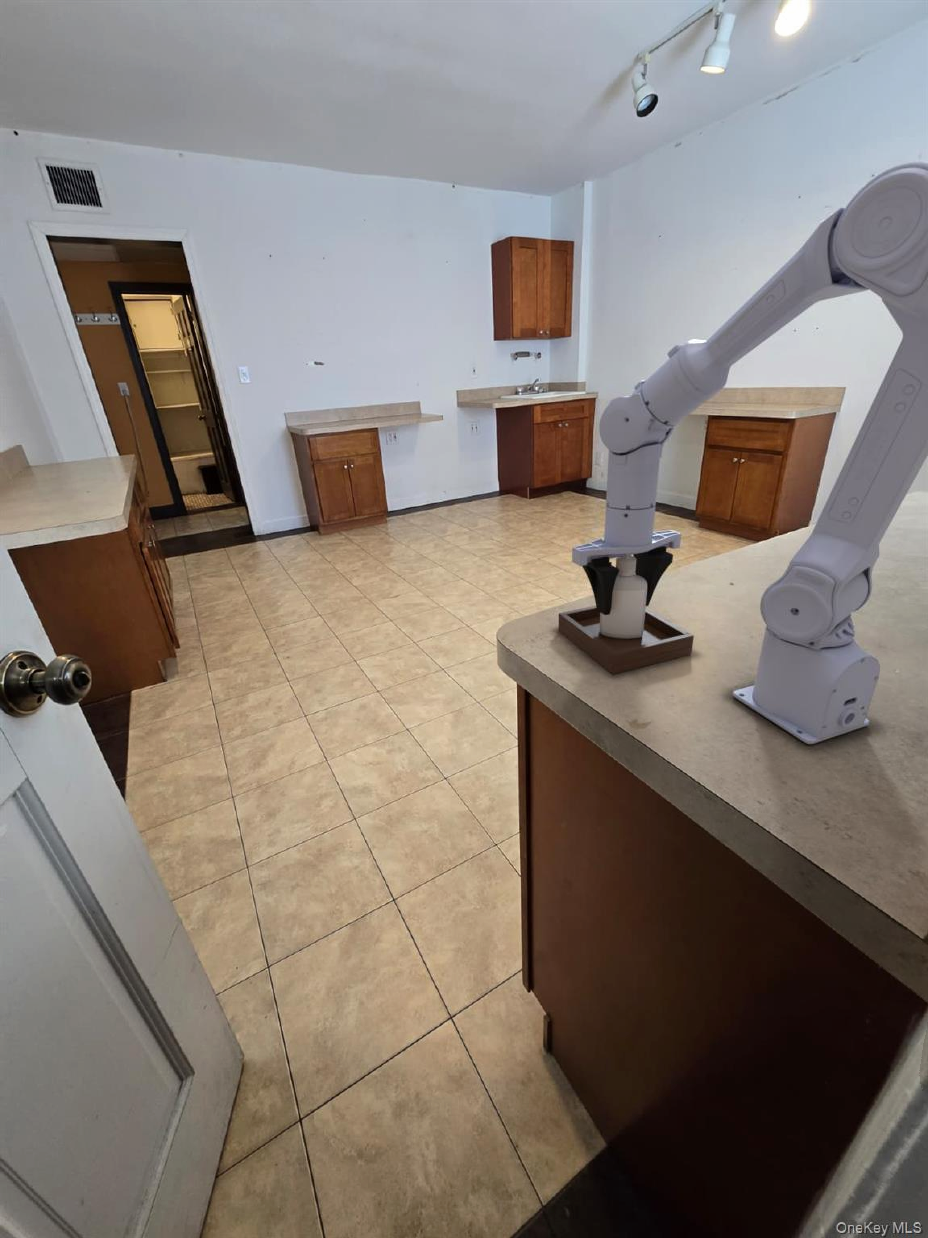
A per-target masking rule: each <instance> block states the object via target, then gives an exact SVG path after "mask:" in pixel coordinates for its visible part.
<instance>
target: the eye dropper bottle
mask: <svg viewBox="0 0 928 1238" xmlns="http://www.w3.org/2000/svg"><path fill="white" fill-rule="evenodd" d="M615 567H616V568H618V569H619V572H618V575H617V577H616V580H615V584H614V588H613V594H612V607H611V612H610V614H609V615H604V614H602V613H601V612H600V633H601V634H602V635H604V636H607V637H612V638H619V639H634V638H640V637H641V636H642V635H643V631H644V620H645V609H647V606H646V597H647V581H646V580H645V579H644V578H643V577H641V576H638V575H635V570H636V558H635V557H633V555H631V554H626V556H622V557H616V558H615Z"/></svg>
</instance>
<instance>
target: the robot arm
mask: <svg viewBox="0 0 928 1238" xmlns="http://www.w3.org/2000/svg"><path fill="white" fill-rule="evenodd" d="M867 291H871V292H872V293H874V294H875V295H877V296H878V297H879V298H881V301H882V303H883V304H884V306H885V307H886V309H887V310H888V312H889V314H890V315H891V317H892V319H893V320H894V321H895V323H896V325H897V326H898V328H899V329H900V331H901V333H902V339H901V341H900V344H899V345H898V347H897V349H896V352H895V353H894V356H893V358H892V360H891V363H890V365H889V367H888V368H887V370H886V373H885V375H884V377H883V379H882V382H881V383H880V386H879V387H878V390H877V392H876V395H875V397H874V399H873V401H872V403H871V405H870V407H869V409H868V411H867V413H866V416H865V418H864V421H863V422H862V424H861V427H860V429H859V431H858V433H857V436H856V438H855V439H854V442H853V444H852V446H851V448H850V451H849V453H848V454H847V457H846V459H845V460H844V463H843V465H842V468H841V470H840V472H839V474H838V476H837V478H836V480H835V482H834V485H833V487H832V489H831V491H830V493H829V495H828V498H827V500H826V501H825V504H824V506H823V508H822V510H821V512H820V515H819V516H818V519H817V521H816V523H815V525H814V528H813V529H812V532H811V533H810V535H809V536H808V538H807V539H806V540H805V542H804V543H803V544H802V545H801V546H800V548H799V549H798V550H797V551H796V553H795V554H794V555H793V557H792V558H791V560H790V561H789V563H788V565H787V568H786V570H785V571H784V573H783V574H782V575H781V576H780V577H779V578H778V579H777V580H775V581H774V582H773V583H771V584H769V586H768V587H767V588H766V589H765V590H764V592H763V593H762V596H761V598H760V603H759V610H760V615H761V617H762V620H763V623H764V624H765V628H764V629H765V631H764V635H763V639H762V644H761V650H760V654H759V658H758V664H757V669H756V674H755V679H754V684H753V685H750V686H746V687H743V688H739V689H736V690H734V691H732V697H734V698H735V699H737V701H740V702H741V703H743V704H744V705H746V706H747V707H749V708H751V709H752V710H753V711H755V712H757V713H758V714H760V715H761V716H763V717H765V718H766V719H768V720H769V721H771V722H773V723H774V724H776V725H777V726H779V727H780V728H781V729H783V730H785V731H786V732H788V733H789V734H791V735H792V736H794V737H796V738H797V739H799V740H800V741H802V742H803V743H804V744H808V745H814V744H817V743H820V742H823V741H826V740H829V739H831V738H835V737H837V736H840V735H843V734H847V733H850V732H852V731H855V730H858V729H861V728H864V727H867V726H869V724H870V720H869V719H868V718H867V715H868V712H869V708H870V706H871V702H872V699H873V696H874V694H875V693H874V692H875V690H876V687H877V684H878V681H879V677H880V672H881V666H880V662H879V660H878V659H877V658H876V657H875V656H873V655H871V654H869V652H867V651H865V650H864V649H863V648H862V647H861V646H860V645H859V644H858V643H857V642H856V640H855V634H856V631H855V627H854V623H853V622H854V621H853V619H852V614H853V613H854V612H857V611H859V610H860V609H861V608H862V607H864V606H865V605H866V603H867V602H869V599H870V597H871V595H872V592H873V578H872V574H873V569H874V566H875V564H876V562H877V561H878V559H879V557H880V543H881V541H882V539H883V538H884V535H885V534H886V533H887V531H888V529H889V527H890V525H891V523H892V521H893V519H894V517H895V516H896V515H897V513H898V511H899V509H900V508H901V505H902V503H903V501H904V499H905V498H906V496H907V494H908V492H909V491H910V489H911V487H912V485H913V484H914V481H915V479H916V478H917V476H918V474H919V472H920V471H921V468H922V467H923V465H924V463H925V461H926V460H927V458H928V162H923V161H912V162H905V163H902V164H898V165H895V166H893V167H891V168H888V169H886V170H884V171H882V172H881V173H878V175H876V176H874V177H873V178H871V179H870V180H869V181H868V182H867V183H866V184H864V185H863V186H862V187H861V188H860V189H859V190H858V191H857V192H856V193H855V194H854V195H853V196H852V197H851V200H849V202H848V203H847V205H846V206H845V208H844V207H842V206H841V207H839V208H838V209H837V210H835V211H834V212H833V213H831V214H830V215H829V216H827V217H826V218H825V219H823V220H822V221H821V222H820V223H819V225H818V226H817V227H816V228H815V230H813V232H812V234H811V235H810V236H809V237H808V238H807V240H806V241H805V243H804V244H803V245H802V246H801V247H800V248H799V249H798V251H796V252H795V254H793V255H792V257H790V258H789V260H787V261H786V262H785V263H784V264H783V265H782V266H781V267H780V268H779V269H778V270H777V271H776V272H775V273H774V274H773V275H772V276H771V277H770V278H769V279H768V280H767V281H766V282H765V283H764V284H763V285H762V286H761V287H760V288H759V289H758V290H757V291H756V292H755V293H754V294H752V296H751V297H750V298H749V299H748V300H746V301H745V303H743V304H742V306H741V307H740V308H738V309H737V310H736V311H735V312H734V314H733V315H731V316H730V317H729V318H728V320H727V321H725V322H724V323H723V324H722V325H721V326H720V328H718V330H716V331H715V332H714V333H713V334H712V335H711V336H710V337H709V338H708V339H707V340H703V339H691V340H688V341H686V343H684V344H675V345H674V346H673V347H672V348H671V349H670V350H669V351H668V352H667V356H668V358H669V359H667V360H666V361H665V362H664V363H663V364H662V365H661V366H660V367H658V369H657V370H656V371H654V373H652V374H651V375H649V377H648V378H647V379H646V380H640V381H639V382H637V384H635V385H634V391H633V392H632V395H630V396H629V395H628V396H627V395H626V396H617V397H615V398H613V399H611V400H610V401H609V403H608V405H607V406H606V407H605V409H604V410H603V412H602V414H601V416H600V420H599V424H598V425H599V426H598V427H599V428H598V430H599V436H600V437H599V438H600V439H601V440H600V441H601V442H602V444H603V445H604V446H605V448H606V449H607V450H608V456H607V457H608V459H607V474H606V475H607V477H606V493H605V494H606V497H605V514H604V516H605V517H604V533H603V537H601V538H598V539H595V540H593V541H589V542H587V543H584V544H580V545H576V546H572V547H571V562H572V563H574V564H575V565H577V566H579V567H582V569H583V571H584V573H585V575H586V577H587V579H588V581H589V584H590V586H591V590H592V593H593V598H594V603H595V606H596V608H597V610H598V611H599V612H601V613H602V614H604V615H609V614H610V612H611V607H612V594H613V588H614V584H615V580H616V577H617V575H618V572H619V569H618V568H616V566H614V565H613V561H610V559H616V558H617V557H622V556H626V554H631V556H633V557H635V558H636V570H635V575H638V576H641V577H643V578H644V579H645V580H646V581H647V597H646V607H649V606H650V604H651V601H652V598H653V595H654V593H655V590H656V588H657V586H658V583H659V581H660V580H661V578H662V576H663V575H664V574H665V572H666V571H667V569H668V568H669V567H670V566H671V565H672V563H673V560H674V554H673V553H671V552H669V551H667V549H672V550H674V549H675V550H676V549H680V548H681V543H682V542H681V540H682V533H681V532H679V531H675V530H672V529H669V530H668V529H667V530H660V531H658V530H657V531H654V527H655V515H656V505H657V496H658V495H657V494H658V493H657V491H658V482H659V472H660V471H659V470H660V461H661V458H662V456H663V448H664V445H665V444H666V442H667V441H668V440H669V439H670V437H671V436H672V434H673V431H674V429H675V427H676V426H677V425H678V424H680V423H681V422H682V421H683V420H684V419H686V418H687V417H688V416H690V415H691V414H692V413H693V412H695V411H696V410H697V409H699V408H700V407H701V406H702V405H704V404H706V402H707V401H709V400H711V398H713V397H714V396H715V395H716V394H718V393H719V392H721V391H722V390H723V389H724V388H725V387H726V384H727V382H728V377H729V373H730V370H731V367H732V366H733V365H734V364H736V363H737V362H739V361H740V360H741V359H742V358H744V357H745V356H747V355H748V354H749V353H751V352H752V351H753V350H754V349H756V348H757V347H759V346H760V345H761V344H763V342H765V341H766V340H768V339H769V338H770V337H772V336H773V335H774V334H776V333H778V332H779V331H780V330H781V329H782V328H784V327H785V326H786V325H788V324H789V323H791V322H792V321H793V320H795V319H796V318H797V317H798V316H800V315H801V314H803V313H804V312H805V311H807V310H808V309H809V308H811V307H812V306H814V305H815V304H817V303H819V302H822V301H825V300H830V299H835V298H839V297H844V296H849V295H855V294H858V293H862V292H867Z"/></svg>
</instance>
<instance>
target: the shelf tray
mask: <svg viewBox="0 0 928 1238" xmlns="http://www.w3.org/2000/svg"><path fill="white" fill-rule="evenodd" d="M558 631H559V632H560V633H561V634H563V635H564V636H565V637H566V638H567V639H569V640H570V641H571V642H572V643H573V644H575V645H576V646H577V647H578V648H580V650H582V651H583V652H584V653H586V654H587V655H588V656H589V657H590V658H592V659H593V660H594V661H596V662H597V663H598V664H599V665H601V667H603V668H604V669H605V670H607V672H609V673H610V674H612V675H616V674H620V673H624V672H627V671H631V670H635V669H641V668H643V667H648V666H650V665H655V664H659V663H663V662H666V661H667V662H668V661H670V660H674V659H678V658H683V657H686V656H690V655H692V652H693V646H694V637H695V636H694V634H692V633H690V632H688V631H686V630H685V629H683V628H681V627H679V626H677V625H676V624H674V623H672V622H671V621H668V620H667V619H665V618H663V617H661V616H660V615H659V614H656V613H655V612H653V611H651V610H649V609H647V608H646V609H645V620H644V631H643V635H642V636H641V637H640V638H634V639H619V638H612V637H607V636H604V635H602V634H601V633H600V612H599V611H598V610H597V608H596V605H592V606H587V607H582V608H578V609H577V608H576V609H573V610H569V611H563V612H559V613H558Z"/></svg>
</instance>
